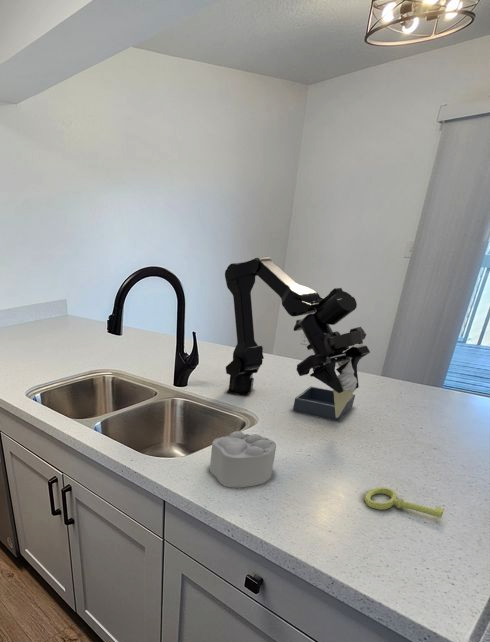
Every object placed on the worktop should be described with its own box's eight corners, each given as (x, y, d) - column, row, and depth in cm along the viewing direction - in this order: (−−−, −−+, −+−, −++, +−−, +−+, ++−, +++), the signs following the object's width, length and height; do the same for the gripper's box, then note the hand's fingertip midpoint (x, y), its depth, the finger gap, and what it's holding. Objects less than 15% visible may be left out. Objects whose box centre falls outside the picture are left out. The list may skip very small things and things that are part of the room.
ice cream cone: (346, 414, 111) (360, 357, 104) (349, 422, 107) (365, 363, 100) (324, 412, 113) (337, 356, 106) (327, 420, 109) (340, 362, 102)
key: (443, 524, 78) (447, 514, 77) (363, 507, 84) (366, 497, 83) (438, 503, 83) (442, 494, 82) (364, 488, 89) (366, 479, 88)
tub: (292, 411, 125) (294, 398, 123) (308, 398, 133) (310, 386, 131) (338, 421, 118) (341, 407, 116) (352, 407, 125) (355, 394, 123)
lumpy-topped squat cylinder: (205, 466, 101) (208, 432, 97) (256, 458, 102) (261, 425, 98) (226, 489, 91) (230, 453, 87) (282, 481, 93) (289, 445, 89)
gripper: (315, 321, 99) (347, 381, 95) (372, 311, 105) (405, 367, 101) (283, 347, 109) (311, 403, 105) (337, 337, 115) (365, 389, 111)
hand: (348, 390), depth 105 cm, fingers closed on ice cream cone, 5 cm apart
